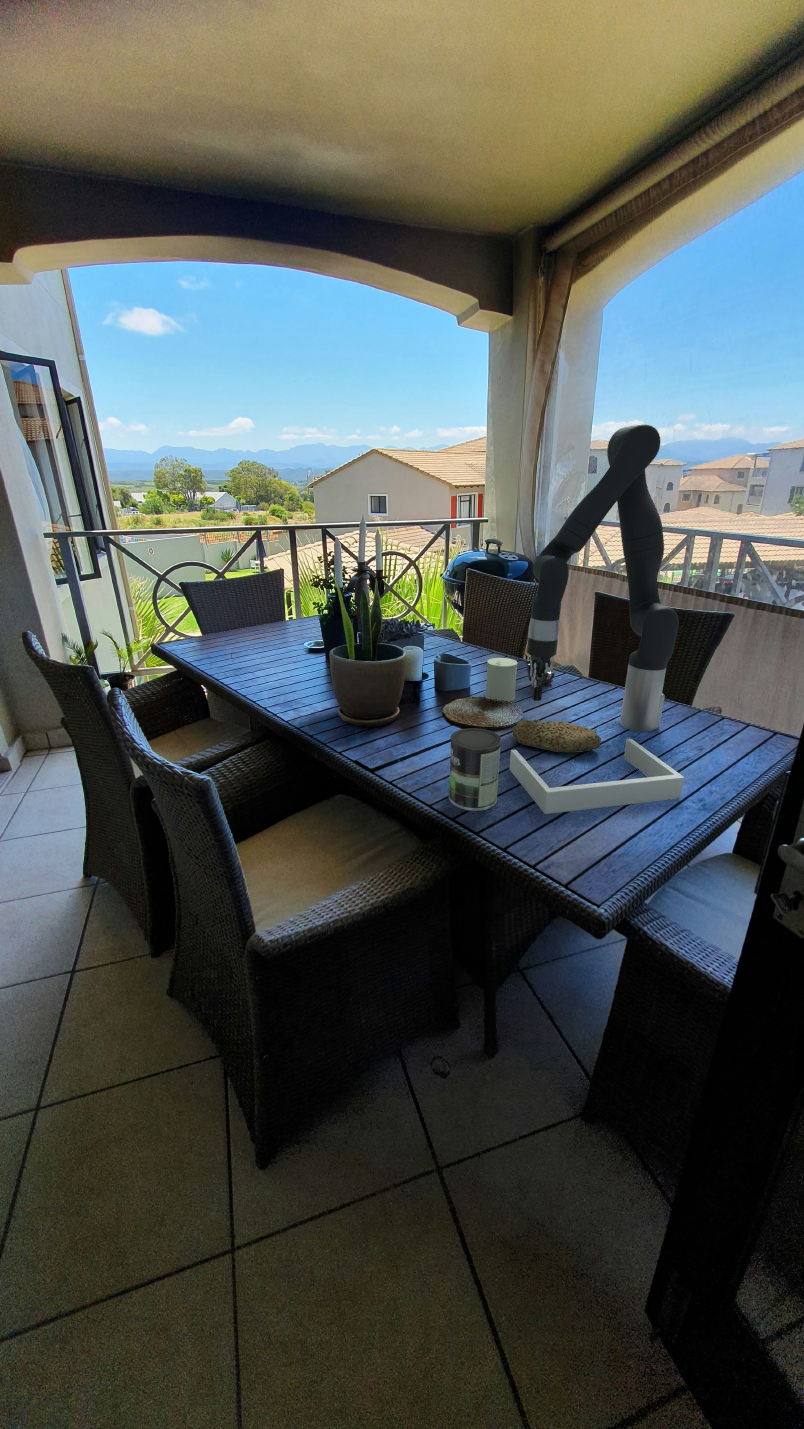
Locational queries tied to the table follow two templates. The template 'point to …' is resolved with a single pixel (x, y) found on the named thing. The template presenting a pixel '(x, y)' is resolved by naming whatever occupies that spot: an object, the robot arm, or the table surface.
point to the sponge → (555, 736)
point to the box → (603, 784)
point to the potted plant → (367, 669)
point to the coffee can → (474, 768)
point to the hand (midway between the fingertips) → (536, 699)
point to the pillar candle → (501, 679)
